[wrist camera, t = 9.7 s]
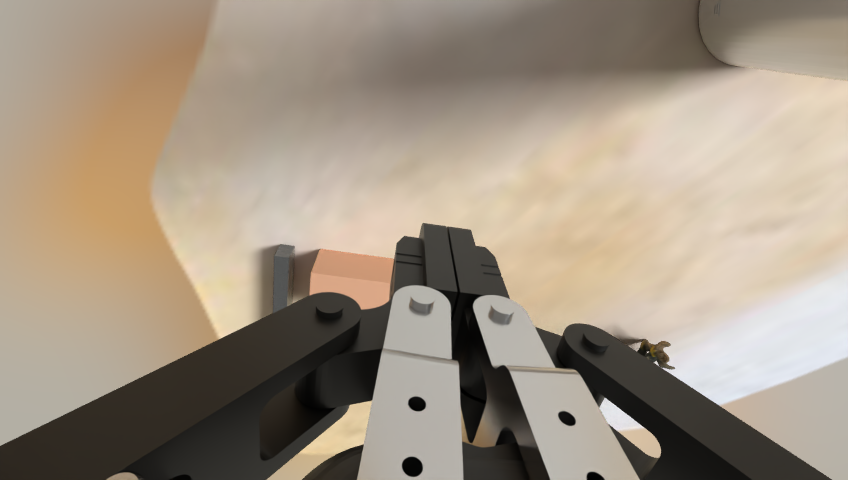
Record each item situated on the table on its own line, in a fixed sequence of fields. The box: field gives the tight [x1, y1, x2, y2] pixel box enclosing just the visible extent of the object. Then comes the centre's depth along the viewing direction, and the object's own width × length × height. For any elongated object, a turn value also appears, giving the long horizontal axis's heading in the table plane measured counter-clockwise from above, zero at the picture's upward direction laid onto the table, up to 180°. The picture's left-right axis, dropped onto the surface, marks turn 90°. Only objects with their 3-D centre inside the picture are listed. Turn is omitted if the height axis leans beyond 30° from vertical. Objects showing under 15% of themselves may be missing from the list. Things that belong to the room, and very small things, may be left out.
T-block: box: [309, 249, 394, 310], centre depth 38 cm, size 12×12×4 cm
